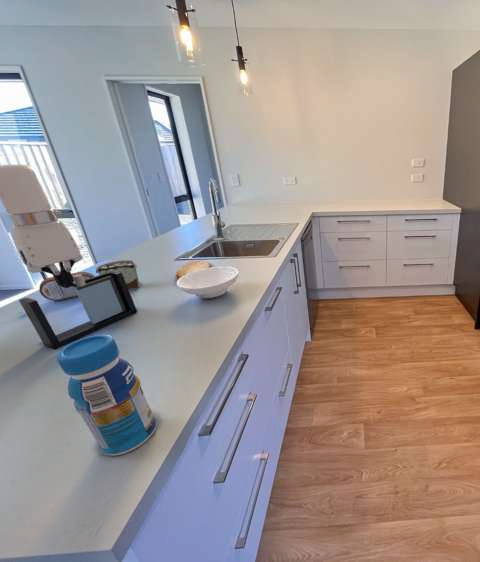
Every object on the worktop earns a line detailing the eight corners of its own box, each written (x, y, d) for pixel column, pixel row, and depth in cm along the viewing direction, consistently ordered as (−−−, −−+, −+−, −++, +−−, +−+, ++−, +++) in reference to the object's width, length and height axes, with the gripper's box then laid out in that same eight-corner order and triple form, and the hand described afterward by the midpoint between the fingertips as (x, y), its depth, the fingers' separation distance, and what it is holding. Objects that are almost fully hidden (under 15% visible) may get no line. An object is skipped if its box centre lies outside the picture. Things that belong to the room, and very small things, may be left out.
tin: (101, 289, 114) (92, 268, 111) (101, 291, 112) (92, 271, 108) (46, 301, 105) (34, 279, 102) (45, 304, 103) (33, 282, 100)
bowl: (168, 303, 102) (162, 284, 99) (212, 280, 119) (208, 264, 116) (214, 310, 97) (209, 291, 94) (253, 285, 114) (250, 269, 111)
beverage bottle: (87, 454, 51) (30, 361, 43) (131, 414, 59) (89, 328, 51) (130, 461, 50) (79, 366, 42) (169, 419, 58) (133, 332, 49)
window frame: (54, 349, 79) (28, 303, 73) (44, 345, 81) (18, 299, 75) (137, 312, 97) (121, 272, 91) (127, 309, 99) (111, 270, 93)
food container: (148, 281, 120) (140, 257, 116) (144, 287, 115) (135, 263, 110) (111, 286, 116) (101, 262, 112) (104, 293, 111) (93, 268, 106)
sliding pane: (95, 324, 87) (73, 277, 81) (91, 323, 88) (69, 277, 82) (126, 310, 94) (108, 266, 88) (123, 309, 95) (105, 266, 89)
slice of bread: (198, 263, 138) (196, 255, 136) (226, 268, 131) (224, 260, 129) (159, 277, 123) (156, 269, 122) (187, 284, 116) (184, 275, 114)
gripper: (64, 212, 81) (92, 274, 88) (-18, 224, 68) (23, 296, 76) (80, 213, 78) (107, 277, 86) (-2, 226, 66) (38, 300, 73)
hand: (67, 286), depth 81 cm, fingers closed
